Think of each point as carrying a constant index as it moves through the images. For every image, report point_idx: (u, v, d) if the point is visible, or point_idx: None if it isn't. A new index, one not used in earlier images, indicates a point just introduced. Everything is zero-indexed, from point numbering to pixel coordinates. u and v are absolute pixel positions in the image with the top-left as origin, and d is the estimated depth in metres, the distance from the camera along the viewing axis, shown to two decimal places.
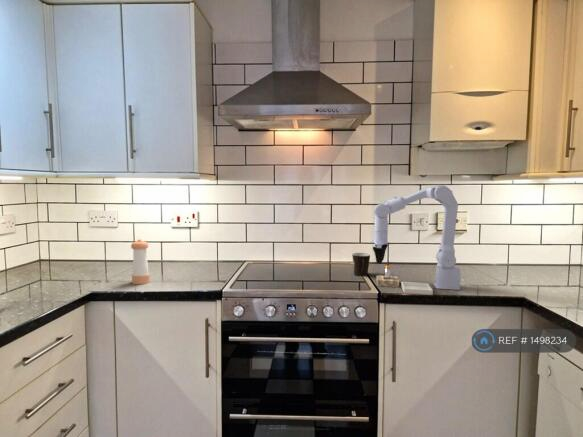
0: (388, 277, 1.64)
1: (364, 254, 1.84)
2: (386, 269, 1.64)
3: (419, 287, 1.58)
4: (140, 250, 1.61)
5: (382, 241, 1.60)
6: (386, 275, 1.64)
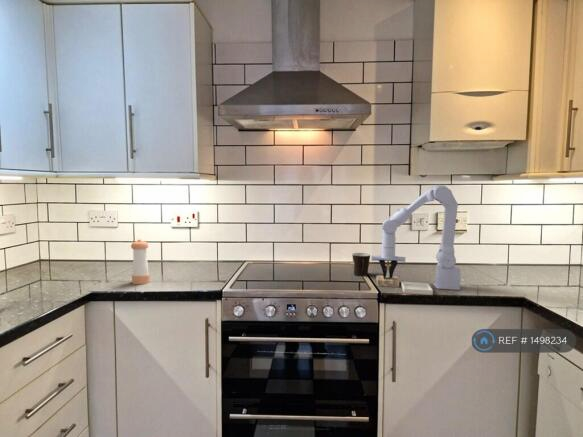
0: (388, 277, 1.64)
1: (364, 254, 1.84)
2: (386, 269, 1.64)
3: (419, 287, 1.58)
4: (140, 250, 1.61)
5: (382, 256, 1.63)
6: (386, 275, 1.64)
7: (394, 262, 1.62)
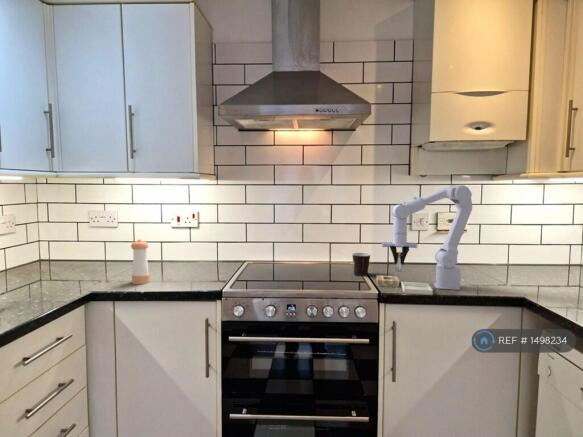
0: (399, 264, 1.59)
1: (364, 254, 1.84)
2: (397, 255, 1.59)
3: (419, 287, 1.58)
4: (140, 250, 1.61)
5: (393, 242, 1.59)
6: (397, 262, 1.59)
7: (406, 248, 1.57)
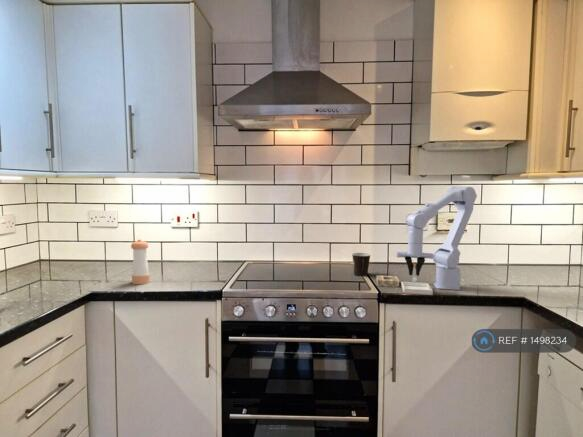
0: (415, 275, 1.54)
1: (364, 254, 1.84)
2: (413, 266, 1.54)
3: (419, 287, 1.58)
4: (140, 250, 1.61)
5: (408, 252, 1.53)
6: (413, 273, 1.54)
7: (421, 259, 1.52)
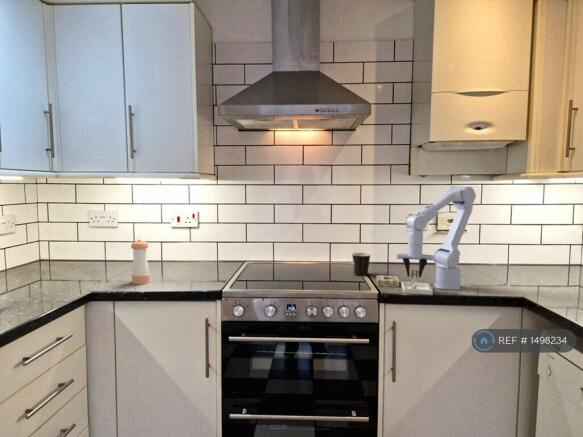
0: (415, 282, 1.54)
1: (364, 254, 1.84)
2: (413, 273, 1.54)
3: (419, 287, 1.58)
4: (140, 250, 1.61)
5: (408, 254, 1.53)
6: (413, 280, 1.54)
7: (421, 260, 1.52)
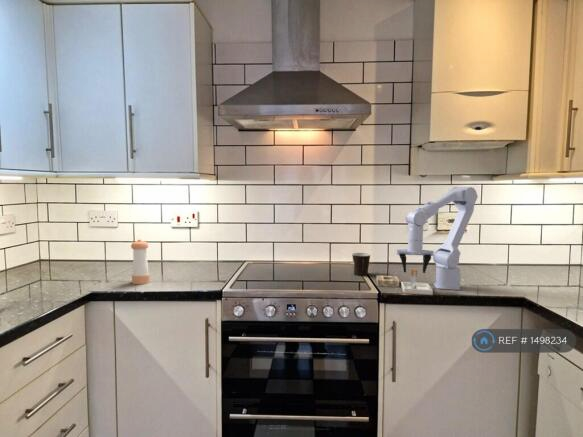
0: (415, 282, 1.54)
1: (364, 254, 1.84)
2: (413, 274, 1.54)
3: (419, 287, 1.58)
4: (140, 250, 1.61)
5: (408, 250, 1.53)
6: (413, 280, 1.54)
7: None
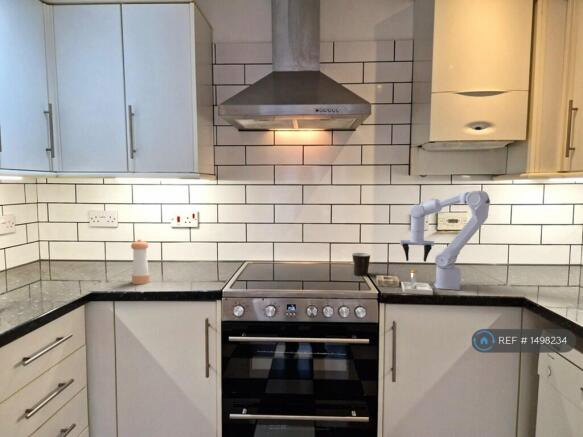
0: (415, 282, 1.54)
1: (364, 254, 1.84)
2: (412, 274, 1.54)
3: (419, 287, 1.58)
4: (140, 250, 1.61)
5: (411, 240, 1.67)
6: (412, 280, 1.54)
7: None
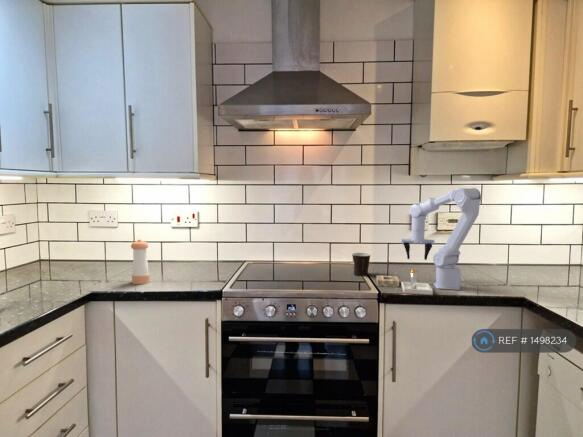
0: (415, 282, 1.54)
1: (364, 254, 1.84)
2: (412, 274, 1.54)
3: (419, 287, 1.58)
4: (140, 250, 1.61)
5: (412, 239, 1.72)
6: (412, 280, 1.54)
7: None
